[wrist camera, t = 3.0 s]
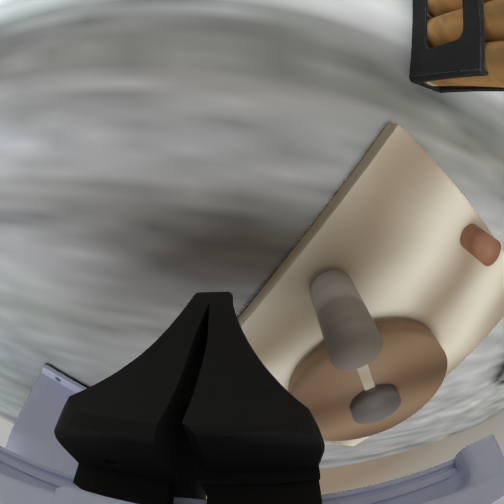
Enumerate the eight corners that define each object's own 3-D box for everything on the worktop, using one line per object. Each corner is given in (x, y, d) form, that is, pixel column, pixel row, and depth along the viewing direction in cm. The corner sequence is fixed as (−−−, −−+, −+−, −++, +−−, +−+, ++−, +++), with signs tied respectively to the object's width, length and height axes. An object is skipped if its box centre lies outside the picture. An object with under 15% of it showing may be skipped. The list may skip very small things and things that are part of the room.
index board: (182, 384, 18) (175, 421, 16) (388, 122, 12) (423, 128, 9) (351, 437, 22) (357, 464, 20) (517, 281, 16) (540, 304, 13)
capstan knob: (438, 386, 18) (459, 428, 14) (316, 437, 20) (324, 483, 16) (421, 224, 12) (473, 269, 9) (222, 313, 14) (216, 381, 10)
